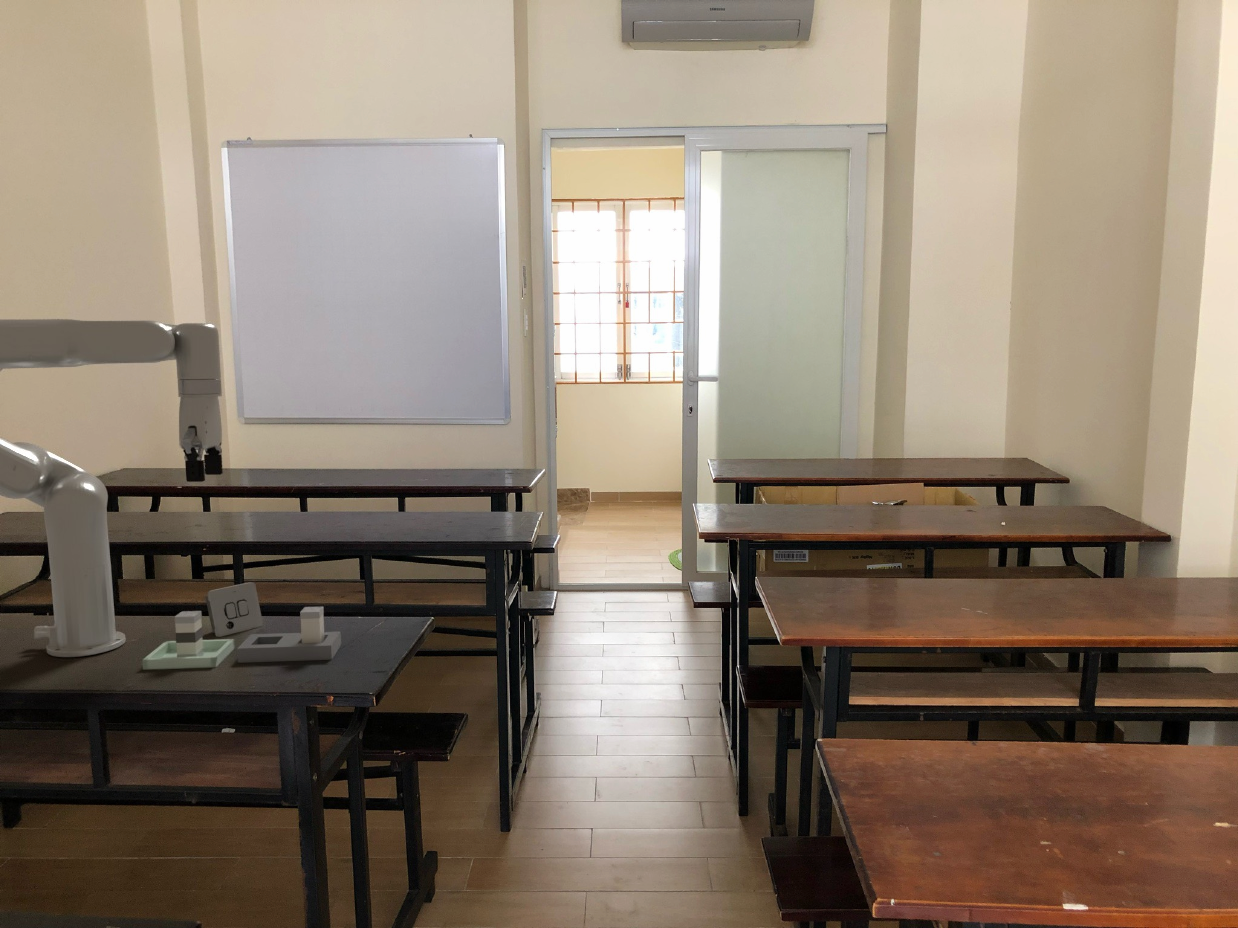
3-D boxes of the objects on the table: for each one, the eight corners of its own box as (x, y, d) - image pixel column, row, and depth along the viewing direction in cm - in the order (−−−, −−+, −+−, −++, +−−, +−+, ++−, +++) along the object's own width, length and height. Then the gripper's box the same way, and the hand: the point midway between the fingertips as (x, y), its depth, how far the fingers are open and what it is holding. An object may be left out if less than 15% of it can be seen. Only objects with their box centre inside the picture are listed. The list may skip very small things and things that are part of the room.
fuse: (302, 655, 159) (300, 612, 158) (306, 649, 163) (304, 606, 162) (321, 655, 160) (319, 611, 159) (325, 649, 163) (323, 606, 162)
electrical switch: (218, 640, 170) (213, 591, 169) (205, 637, 173) (200, 589, 173) (264, 628, 177) (259, 582, 177) (250, 625, 180) (246, 580, 180)
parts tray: (143, 672, 153) (142, 659, 152) (166, 652, 162) (165, 641, 162) (216, 669, 154) (215, 657, 154) (234, 650, 164) (234, 638, 163)
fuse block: (237, 665, 156) (237, 648, 156) (251, 649, 164) (250, 634, 164) (331, 661, 158) (331, 645, 157) (341, 647, 166) (340, 631, 165)
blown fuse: (177, 661, 156) (174, 616, 155) (184, 654, 160) (182, 611, 159) (196, 660, 157) (194, 616, 156) (203, 654, 160) (201, 610, 159)
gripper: (196, 387, 178) (201, 472, 180) (160, 390, 161) (166, 484, 163) (235, 387, 179) (239, 471, 181) (204, 390, 162) (209, 484, 164)
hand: (205, 477), depth 172 cm, fingers open, 9 cm apart
